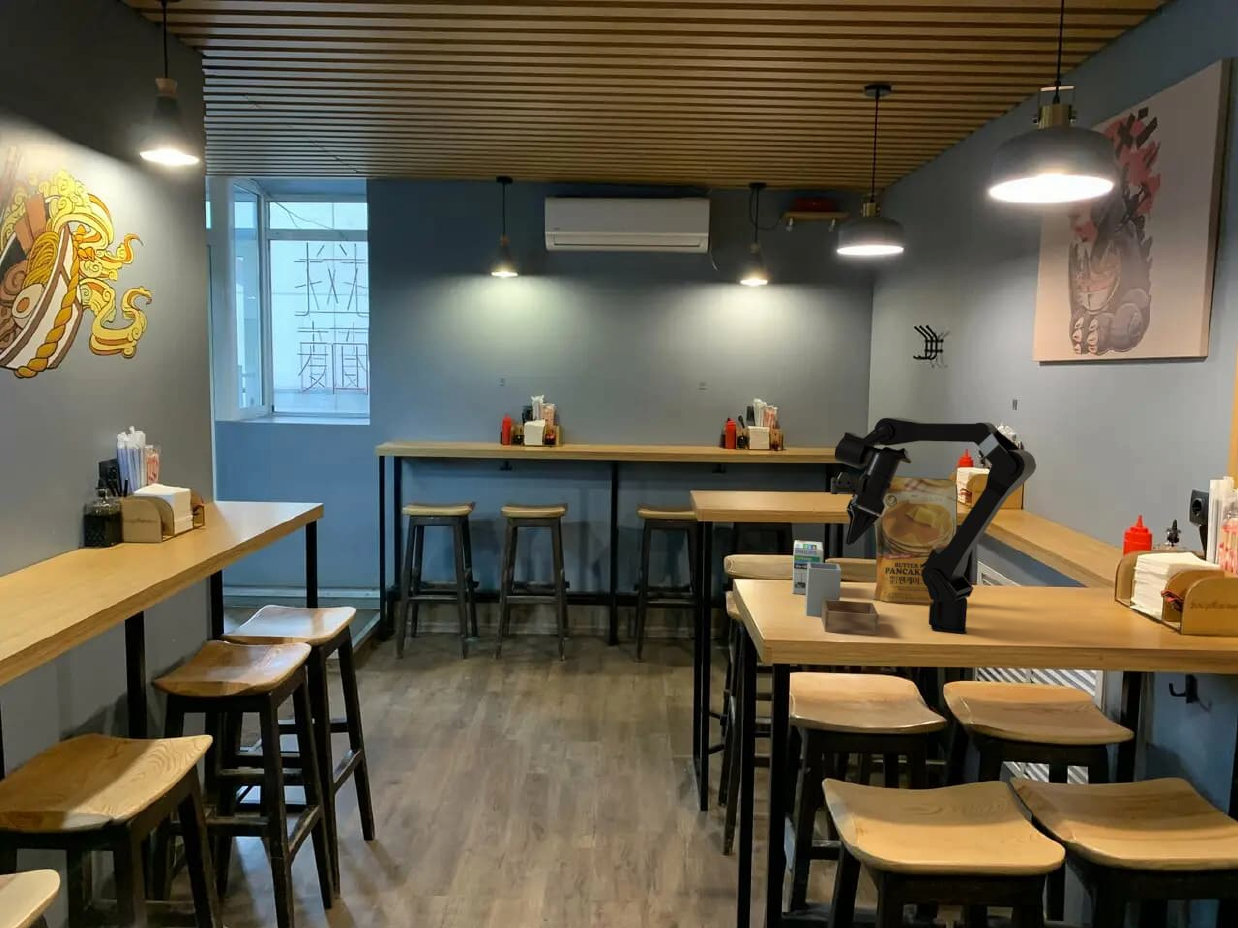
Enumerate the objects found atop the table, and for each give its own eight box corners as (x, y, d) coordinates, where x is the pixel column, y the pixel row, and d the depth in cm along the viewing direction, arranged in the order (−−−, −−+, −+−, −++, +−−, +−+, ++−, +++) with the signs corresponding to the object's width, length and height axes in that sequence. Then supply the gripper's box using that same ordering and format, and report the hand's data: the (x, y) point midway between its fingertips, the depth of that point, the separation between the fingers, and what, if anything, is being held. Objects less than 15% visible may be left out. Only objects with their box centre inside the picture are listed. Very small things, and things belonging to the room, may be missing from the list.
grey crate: (836, 610, 191) (838, 564, 190) (838, 618, 185) (841, 570, 184) (805, 607, 192) (807, 562, 191) (806, 615, 186) (809, 568, 185)
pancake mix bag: (863, 594, 206) (870, 473, 203) (949, 599, 204) (957, 477, 201) (868, 602, 199) (876, 477, 197) (957, 607, 197) (966, 481, 195)
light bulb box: (821, 596, 203) (824, 549, 202) (791, 594, 205) (793, 547, 204) (820, 586, 214) (823, 541, 213) (792, 583, 215) (794, 539, 214)
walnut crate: (871, 621, 183) (872, 602, 182) (877, 635, 173) (878, 615, 172) (821, 618, 184) (822, 599, 184) (824, 631, 174) (825, 611, 174)
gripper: (839, 465, 198) (811, 530, 197) (844, 454, 180) (813, 525, 179) (888, 485, 195) (859, 551, 195) (898, 476, 177) (866, 548, 177)
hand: (848, 543), depth 186 cm, fingers open, 9 cm apart
